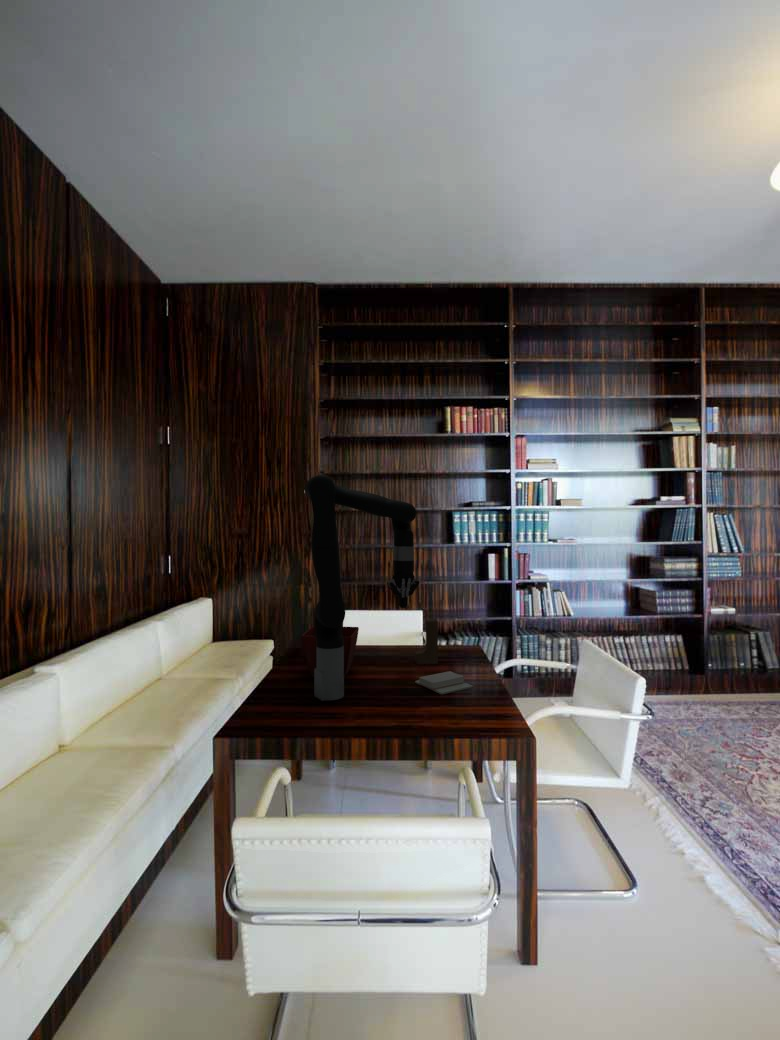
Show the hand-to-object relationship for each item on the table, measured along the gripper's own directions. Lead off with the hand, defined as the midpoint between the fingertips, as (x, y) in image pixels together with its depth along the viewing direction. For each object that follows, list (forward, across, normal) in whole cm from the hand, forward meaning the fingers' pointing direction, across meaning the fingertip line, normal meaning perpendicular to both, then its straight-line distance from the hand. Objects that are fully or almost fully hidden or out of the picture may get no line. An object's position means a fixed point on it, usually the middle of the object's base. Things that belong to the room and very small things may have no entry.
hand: (403, 607), depth 190 cm
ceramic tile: (+27, +7, -5) cm, 28 cm away
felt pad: (+28, +14, -5) cm, 32 cm away
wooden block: (+29, +26, +22) cm, 45 cm away
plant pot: (+29, -14, +30) cm, 44 cm away
